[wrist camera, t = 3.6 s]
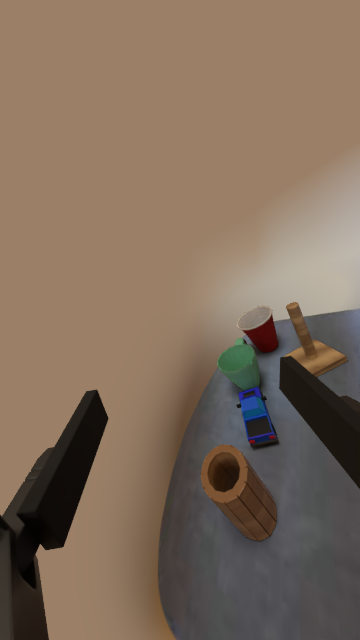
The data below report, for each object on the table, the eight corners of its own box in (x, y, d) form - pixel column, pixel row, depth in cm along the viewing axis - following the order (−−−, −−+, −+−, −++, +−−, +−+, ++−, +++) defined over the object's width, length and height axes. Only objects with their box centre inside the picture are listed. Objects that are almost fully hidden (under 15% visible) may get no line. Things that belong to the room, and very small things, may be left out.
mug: (270, 398, 45) (254, 367, 41) (231, 401, 50) (214, 374, 47) (268, 356, 56) (254, 329, 53) (236, 362, 61) (222, 338, 58)
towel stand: (347, 360, 42) (327, 298, 37) (310, 380, 43) (286, 322, 38) (316, 343, 51) (296, 291, 45) (286, 360, 51) (263, 310, 46)
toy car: (265, 393, 46) (258, 379, 45) (284, 443, 35) (274, 426, 34) (239, 401, 48) (231, 388, 47) (249, 450, 38) (239, 435, 36)
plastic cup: (245, 347, 65) (230, 319, 61) (273, 331, 64) (260, 302, 60) (260, 364, 55) (243, 332, 51) (294, 346, 54) (280, 311, 50)
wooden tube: (286, 528, 27) (256, 488, 23) (242, 549, 27) (207, 512, 24) (261, 474, 33) (235, 437, 30) (227, 492, 34) (197, 456, 30)
